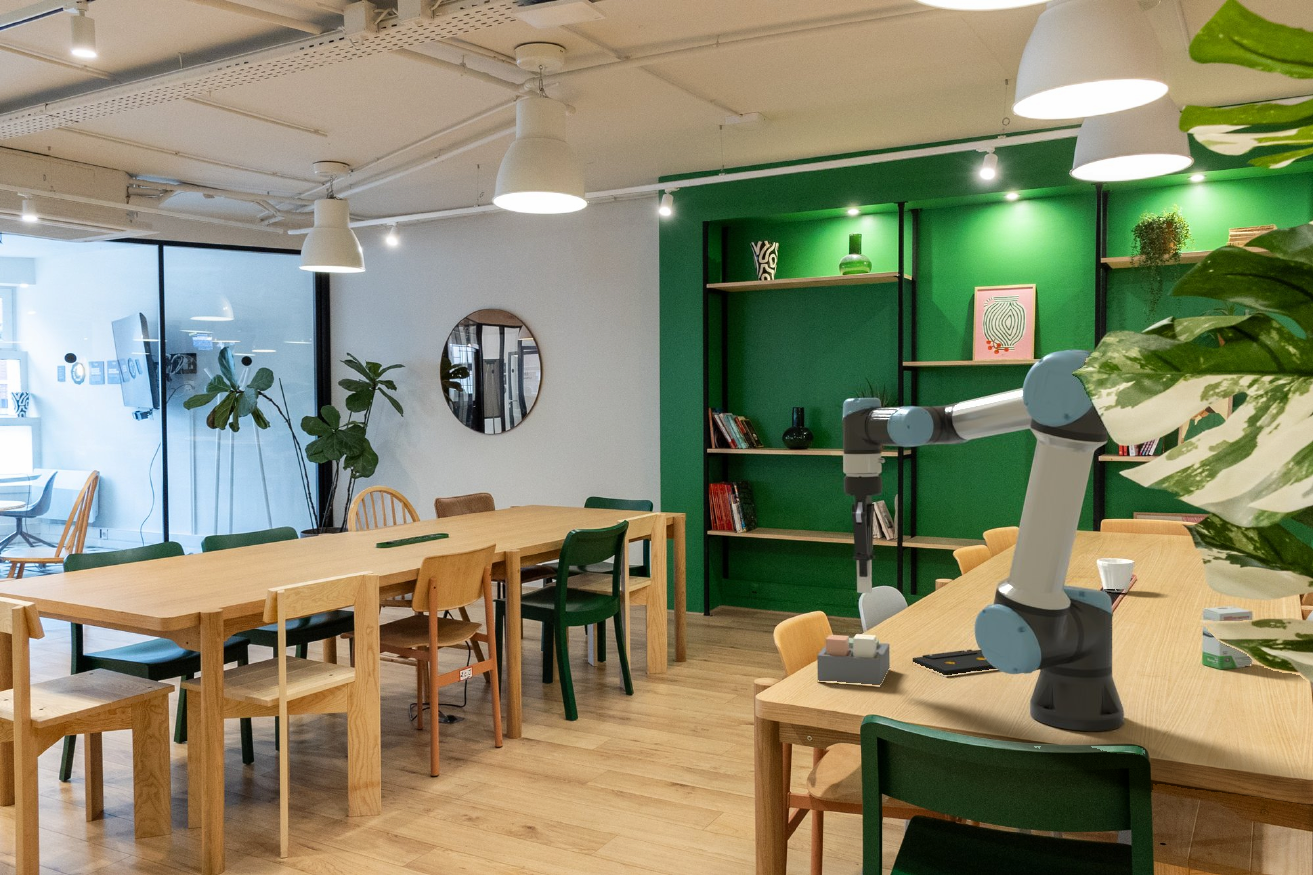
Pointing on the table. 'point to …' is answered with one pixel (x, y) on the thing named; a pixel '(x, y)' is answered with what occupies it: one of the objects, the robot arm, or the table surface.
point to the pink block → (837, 645)
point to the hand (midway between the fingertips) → (864, 592)
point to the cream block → (864, 646)
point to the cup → (1115, 572)
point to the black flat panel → (955, 662)
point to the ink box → (1217, 651)
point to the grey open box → (854, 666)
